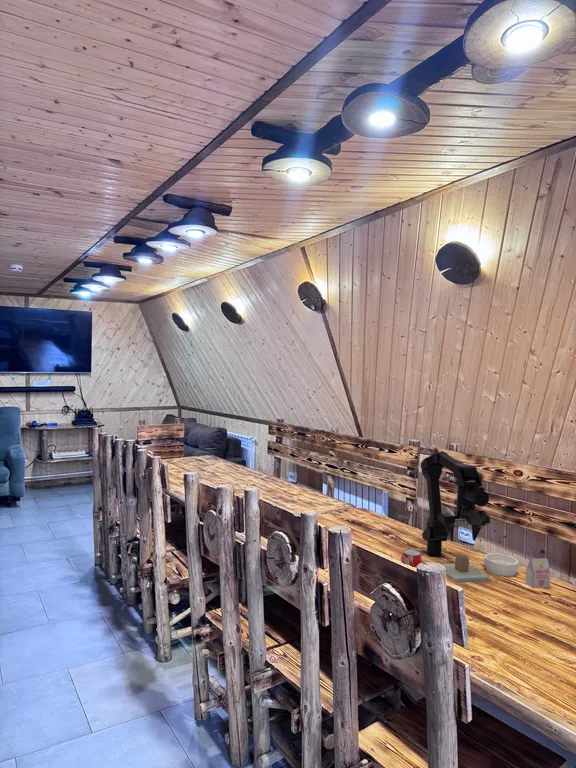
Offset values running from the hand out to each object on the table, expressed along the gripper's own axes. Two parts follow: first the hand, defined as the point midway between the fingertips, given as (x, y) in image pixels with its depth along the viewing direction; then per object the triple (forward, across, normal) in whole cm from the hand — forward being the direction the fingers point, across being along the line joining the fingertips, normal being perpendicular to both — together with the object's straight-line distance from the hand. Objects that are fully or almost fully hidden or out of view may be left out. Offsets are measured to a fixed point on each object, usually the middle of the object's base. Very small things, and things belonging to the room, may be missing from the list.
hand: (462, 540), depth 190 cm
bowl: (+12, +16, 0) cm, 21 cm away
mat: (+12, 0, 0) cm, 12 cm away
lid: (+12, 0, 0) cm, 12 cm away
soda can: (+13, -24, -8) cm, 29 cm away
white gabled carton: (+12, +22, -14) cm, 29 cm away
